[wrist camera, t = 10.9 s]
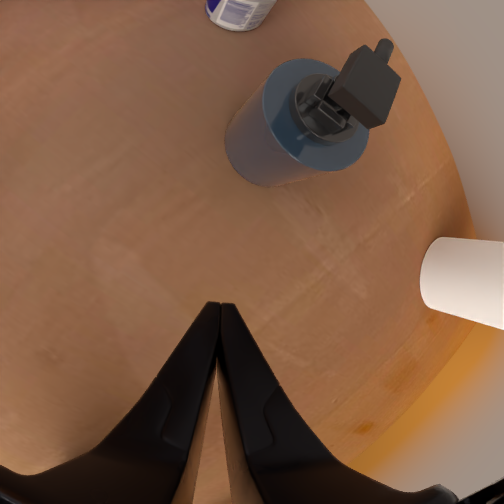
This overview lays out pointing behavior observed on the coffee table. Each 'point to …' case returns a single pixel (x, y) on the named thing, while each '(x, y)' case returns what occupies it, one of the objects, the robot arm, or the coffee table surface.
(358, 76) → the pump head
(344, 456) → the coffee table surface
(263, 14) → the energy drink
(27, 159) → the coffee table surface
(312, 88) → the soap bottle
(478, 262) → the container
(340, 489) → the robot arm
